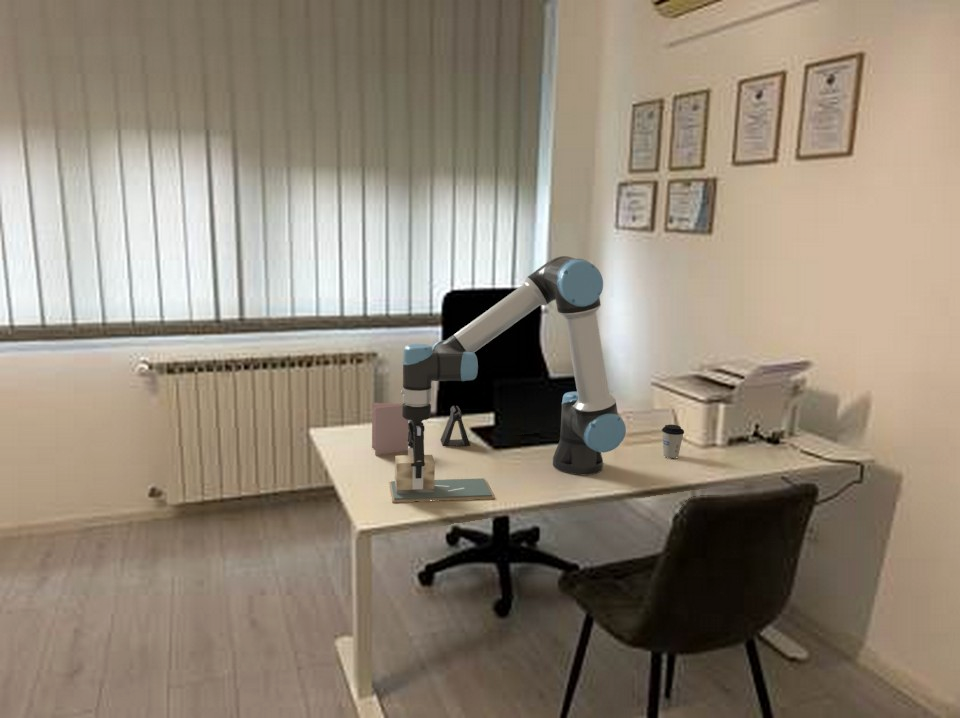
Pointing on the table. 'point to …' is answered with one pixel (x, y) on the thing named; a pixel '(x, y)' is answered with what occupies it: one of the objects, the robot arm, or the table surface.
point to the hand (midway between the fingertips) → (415, 479)
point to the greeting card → (389, 428)
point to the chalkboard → (447, 491)
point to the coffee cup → (672, 440)
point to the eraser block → (406, 474)
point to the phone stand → (449, 428)
